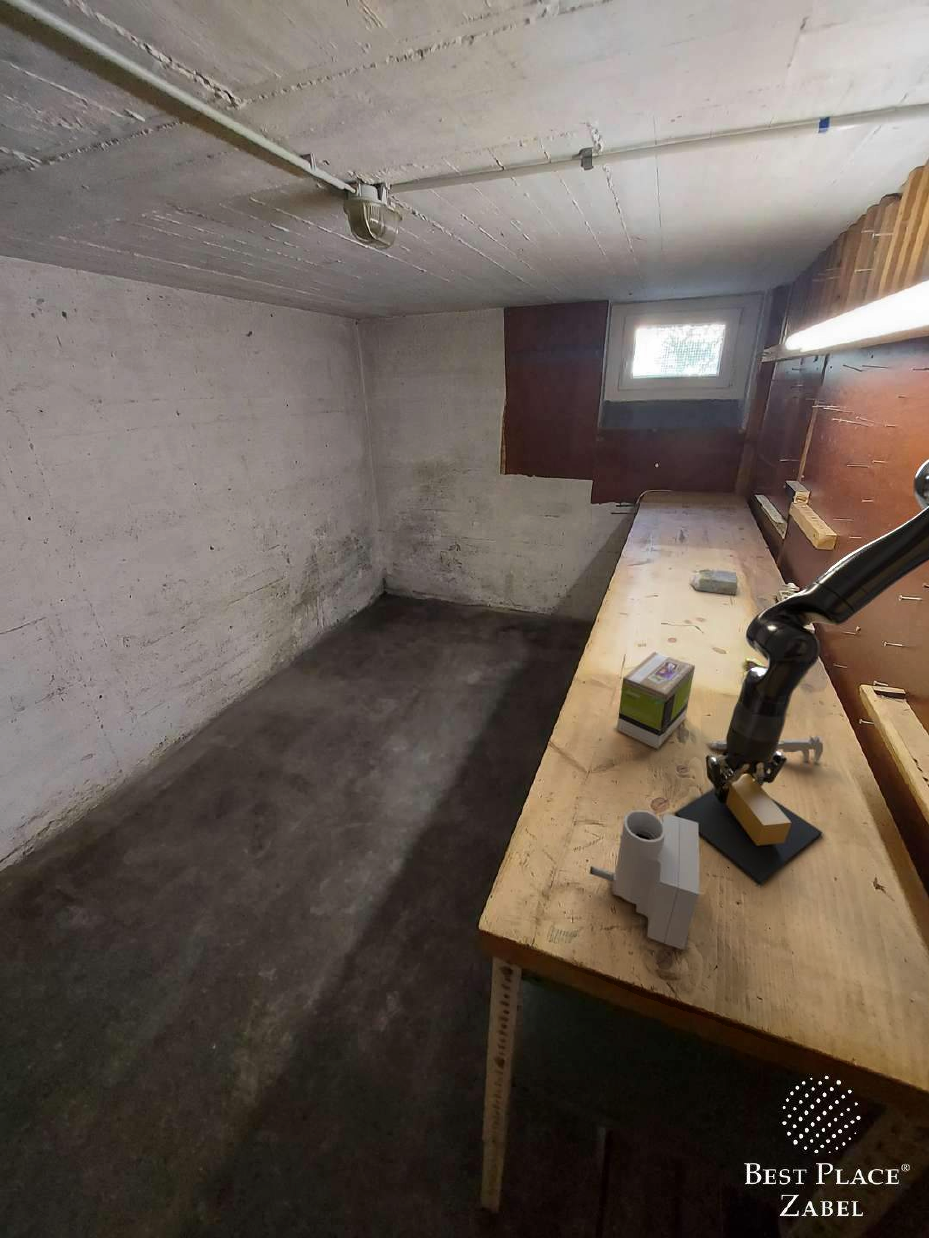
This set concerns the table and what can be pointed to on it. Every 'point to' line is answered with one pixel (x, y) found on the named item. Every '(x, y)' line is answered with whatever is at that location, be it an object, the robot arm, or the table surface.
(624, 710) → the tea box
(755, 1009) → the table surface
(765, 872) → the mat
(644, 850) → the grey pipe housing
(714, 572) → the geological specimen
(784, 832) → the post
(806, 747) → the caliper
